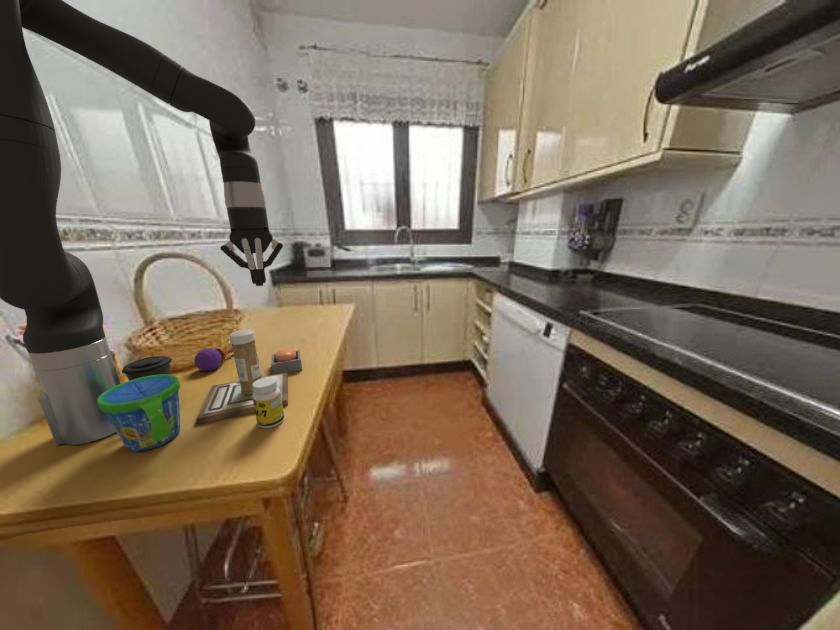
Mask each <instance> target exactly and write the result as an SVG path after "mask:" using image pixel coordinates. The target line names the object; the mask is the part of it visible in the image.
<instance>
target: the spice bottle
mask: <svg viewBox="0 0 840 630" xmlns="http://www.w3.org/2000/svg"><path fill="white" fill-rule="evenodd" d="M228 338H229V343H230V345H231V347H232V348H233V352H232V353H233V355H234V356H233V358H234V359H233V360H234V363H235V367H236V374H237V377H238V378H239V380H240V385H241V392H242V393H243V394H246V395H250V394H253V393H254V392H253V386H252V385H253V383H254V382H255V381H257V380H259V379H262V377H263V376H262V377H261V374H262V372H261V367H260V362H259V356H258V353H257V348H256V347H257V346H256V341H255V339H256V338H255V331H254V330H253V329H241V330H240V329H239V330H236V331H234V332H231V333H230V334H229V335H228Z"/></svg>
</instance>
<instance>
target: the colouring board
mask: <svg viewBox="0 0 840 630" xmlns="http://www.w3.org/2000/svg"><path fill="white" fill-rule="evenodd" d="M261 377H262V378H267V377H272V378H275V379H276V382H277V387H278V388H279V389H280V392H281V399H282V405H283V407H285V406H289V381H288V380H289V378H288V377H289V376H288V373H281V374H276V375H273V374H271V375H266V376H265V375H264V376H263V373H261ZM252 395H253V394H250V395H246V394H243V393H242V392H241V385H240V380H239V378H238V379H237V381H234V382H233V381H232V382H227V383H225V382H224V383H221V384H215V385H212V386H211V387H210V389H209V391H208V394H207V396H206V397H205V399H204V402H203V404H202V405H201V408H200V410H199V412H198V414H197V417H195V418H196V422H197V423H196V424H197V425H200V424H204V423H209V422H215V421H219V420H224V419H229V418H233V417H236V416H243V415H247V414H252V413H255V409H254V404H253V399H252Z"/></svg>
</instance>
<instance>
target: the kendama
mask: <svg viewBox="0 0 840 630" xmlns="http://www.w3.org/2000/svg"><path fill="white" fill-rule="evenodd" d="M232 353H233V348H232V346H230V347H228V348H227V349H223V348H203V349H201V350H200V351H198V352H197V354H196V355H195V356H194V359H193V361H194V366H195V367H196V368H197V369H199V370H201V371H203V372H213V371H214V370H216V369H218V367H219V366H220V365H221V364H222V363H223V362H224V361H225V359H226V358H227V356H228V355H229V354H232Z"/></svg>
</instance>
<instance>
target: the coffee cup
mask: <svg viewBox="0 0 840 630" xmlns="http://www.w3.org/2000/svg"><path fill="white" fill-rule="evenodd" d="M171 363H172V358H171V357H170V356H166V355H157V356H156V355H155V356H154V355H153V356H149V357H148V356H147V357H144V358H139V359H137V360H134V361H132V362H130V363H127V364H126V365H124V366H123V368H122V370H121V373H122V374H125V375H126V377H127V379H128V381H130V380H134V379H137V378H141V377H146V376H151V375H160V374H169V375H172V371H171Z"/></svg>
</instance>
